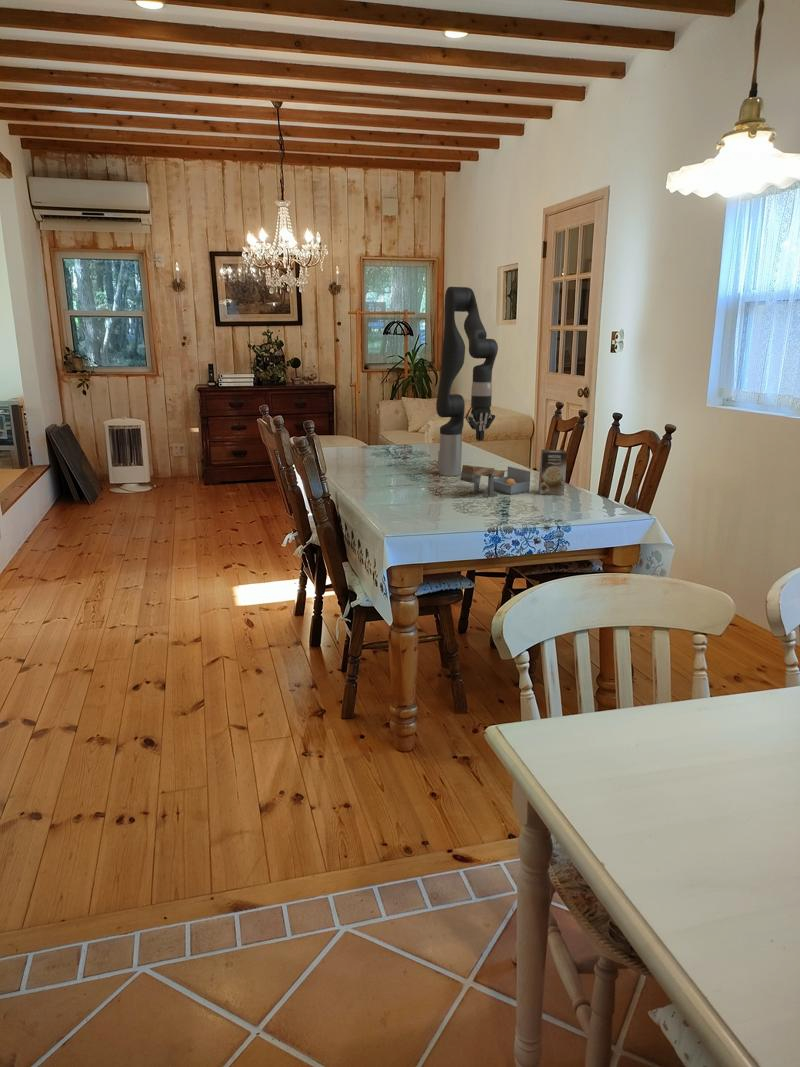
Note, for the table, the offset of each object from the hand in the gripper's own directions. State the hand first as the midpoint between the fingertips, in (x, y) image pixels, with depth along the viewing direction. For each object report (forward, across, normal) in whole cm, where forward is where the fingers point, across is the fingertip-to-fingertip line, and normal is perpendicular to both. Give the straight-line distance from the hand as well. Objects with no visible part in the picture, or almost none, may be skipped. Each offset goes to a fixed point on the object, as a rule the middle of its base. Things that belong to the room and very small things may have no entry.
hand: (479, 440), depth 282 cm
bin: (+19, -8, +9) cm, 22 cm away
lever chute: (+14, +6, +4) cm, 16 cm away
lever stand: (+19, +4, +9) cm, 21 cm away
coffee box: (+19, -19, +21) cm, 34 cm away
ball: (+16, -9, +9) cm, 20 cm away
